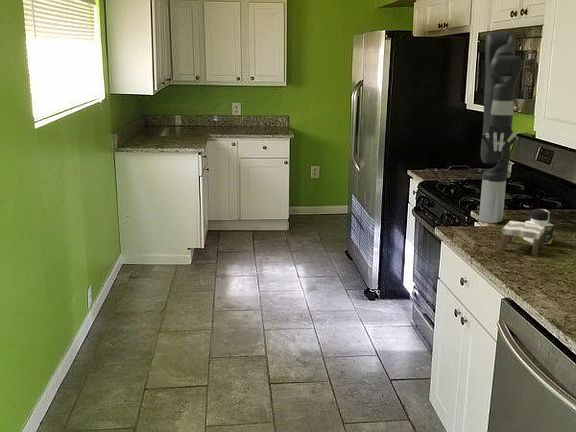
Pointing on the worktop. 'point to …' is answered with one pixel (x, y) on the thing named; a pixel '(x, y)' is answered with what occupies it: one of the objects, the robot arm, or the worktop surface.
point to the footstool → (523, 234)
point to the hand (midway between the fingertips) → (497, 161)
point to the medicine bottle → (542, 219)
